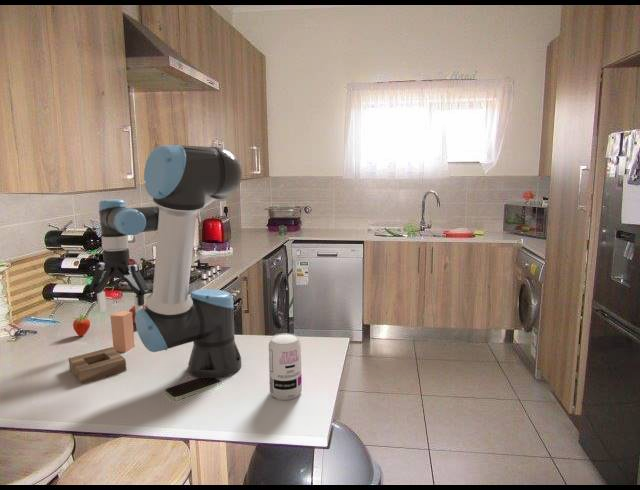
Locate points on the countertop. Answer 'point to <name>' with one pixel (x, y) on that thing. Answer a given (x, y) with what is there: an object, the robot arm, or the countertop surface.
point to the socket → (97, 364)
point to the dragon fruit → (134, 313)
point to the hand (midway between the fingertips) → (120, 313)
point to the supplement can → (285, 366)
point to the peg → (122, 331)
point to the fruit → (81, 325)
